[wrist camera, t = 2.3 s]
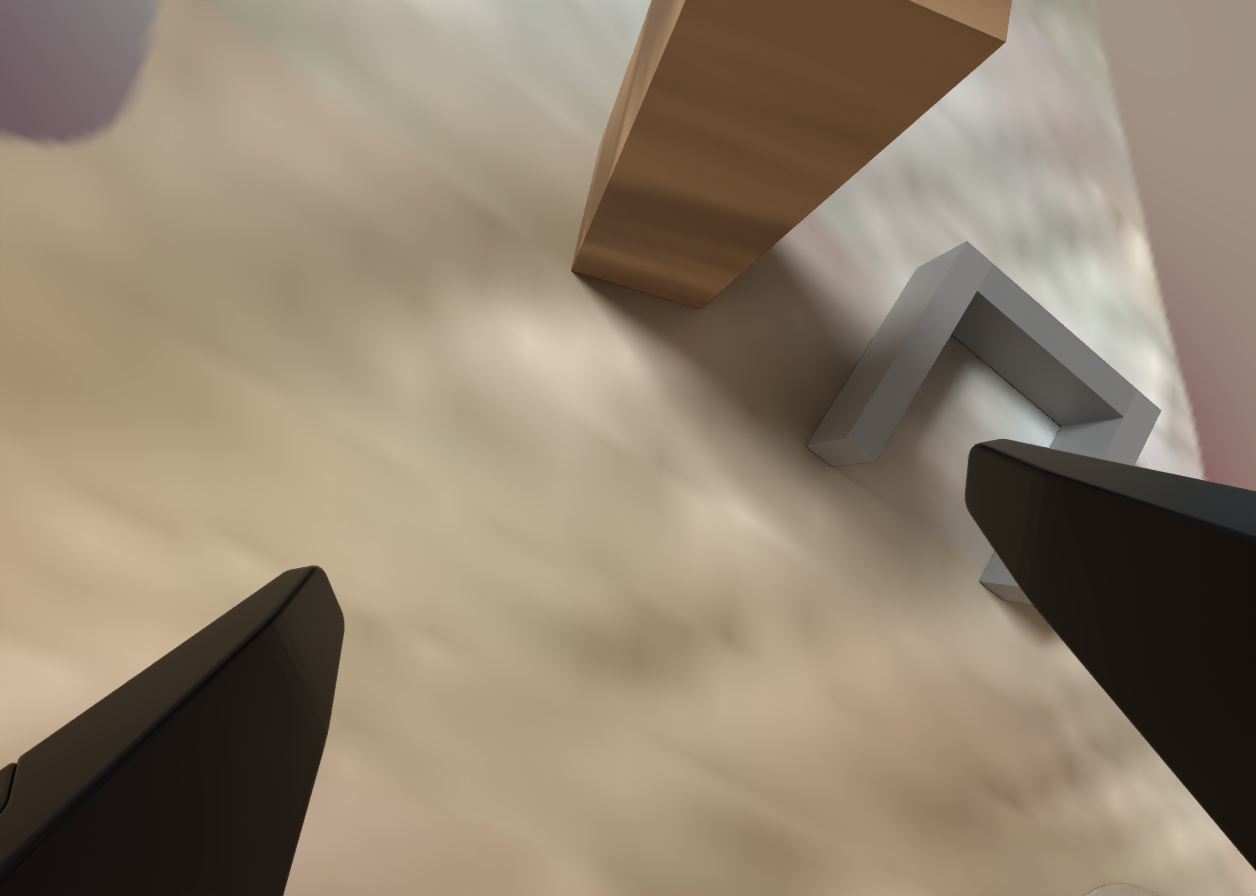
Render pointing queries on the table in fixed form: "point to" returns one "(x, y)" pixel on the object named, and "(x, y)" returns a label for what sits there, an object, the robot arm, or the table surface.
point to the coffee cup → (1120, 891)
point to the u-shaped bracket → (1011, 345)
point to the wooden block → (759, 125)
